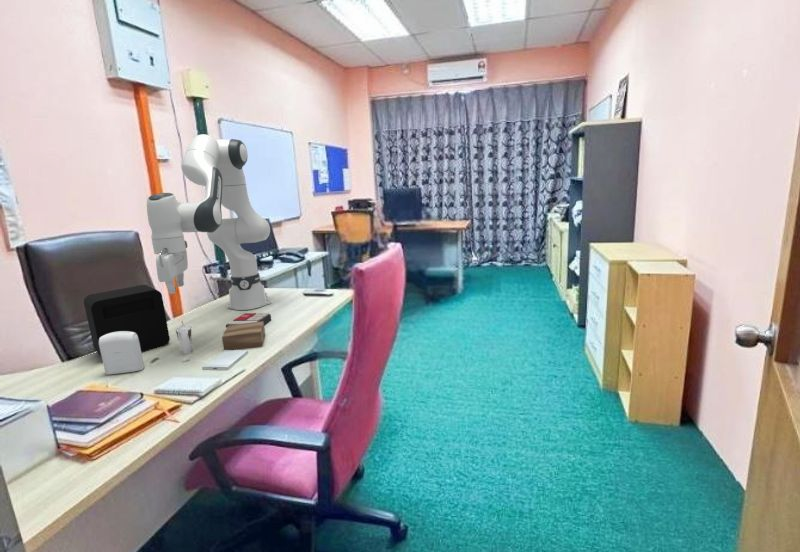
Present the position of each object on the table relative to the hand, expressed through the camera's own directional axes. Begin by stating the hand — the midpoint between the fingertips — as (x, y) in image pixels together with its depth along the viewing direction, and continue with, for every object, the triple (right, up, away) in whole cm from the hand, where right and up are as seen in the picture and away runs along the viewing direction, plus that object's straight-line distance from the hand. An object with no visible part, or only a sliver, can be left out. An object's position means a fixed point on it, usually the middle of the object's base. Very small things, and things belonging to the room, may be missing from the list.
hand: (176, 289), depth 137 cm
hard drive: (+18, -23, -4) cm, 29 cm away
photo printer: (-11, -24, -8) cm, 28 cm away
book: (+14, -16, +27) cm, 34 cm away
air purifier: (-21, -21, +11) cm, 31 cm away
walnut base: (+18, -18, +10) cm, 28 cm away
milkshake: (+1, -21, +5) cm, 21 cm away
